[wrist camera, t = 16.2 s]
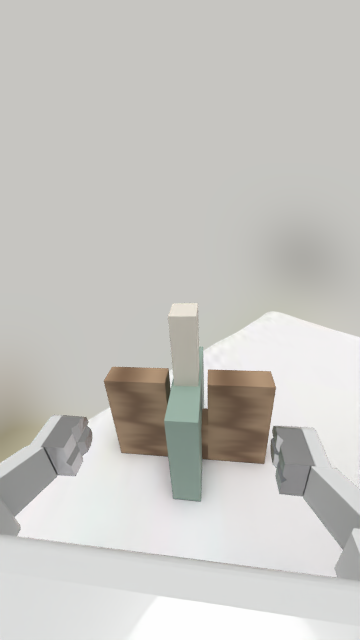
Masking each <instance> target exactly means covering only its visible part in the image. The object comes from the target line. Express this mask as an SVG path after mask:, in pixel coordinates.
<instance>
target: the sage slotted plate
mask: <svg viewBox="0 0 360 640" xmlns="http://www.w3.org/2000/svg"><path fill="white" fill-rule="evenodd" d="M168 321H169V333H170V345H171V356H172V368H173V382H172V386H171V391H170V396H169V400H168V405H167V410H166V414H165V419H164V424H165V433H166V441H167V449H168V458H169V466H170V475H171V483H172V491H173V499H182V500H192V501H201V484H202V437H201V426H202V409H204V372H203V347H199V333H198V332H199V329H198V303H173V304H172V307H171V310H170V313H169V315H168Z"/></svg>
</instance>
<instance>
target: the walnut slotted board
mask: <svg viewBox="0 0 360 640" xmlns="http://www.w3.org/2000/svg"><path fill="white" fill-rule="evenodd" d="M104 383H105V388H106V391H107V396H108V400H109V404H110V408H111V412H112V416H113V420H114V424H115V428H116V432H117V436H118V440H119V444H120V448H121V452H122V453H131V454H144V455H157V456H168V449H167V441H166V433H165V424H164V419H165V414H166V410H167V405H168V400H169V396H170V391H171V390H170V379H169V369H168V368H134V367H132V368H131V367H112V368H111V370H110V371H109V373H108V375H107V377H106V378H105V380H104ZM275 390H276V386H275V383H274V380H273V377H272V374H271V371H237V370H208V409H202V426H201V437H202V459H209V460H222V461H235V462H248V463H261V464H264V462H265V455H266V449H267V442H268V436H269V429H270V422H271V416H272V409H273V403H274V396H275Z"/></svg>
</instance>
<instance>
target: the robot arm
mask: <svg viewBox="0 0 360 640" xmlns="http://www.w3.org/2000/svg"><path fill="white" fill-rule="evenodd" d="M87 424H88V420H87V418H86V417H79V416H67V415H53V416H51V417H50V418H49V420H48V421H47V422H46V424H45V425H44V427H43V428H42V429H41V431H40V432H39V433H38V435H37V436H36V437H35V439H34V440H33V442H32V443H31V444H30V446H25V447H24V448H22V449H21V450H19V451H18V452H16V453H15V454H14V455H12V456H10V457H9V458H7V459H6V460H4V461H3V462H1V463H0V640H360V489H359V488H358V487H357V486H356V485H354V484H353V483H352V482H351V481H350V480H349V479H348V478H347V477H346V476H344V475H343V474H342V473H341V472H340V471H339V470H338V469H337V468H332V466H331V464H330V462H329V460H328V457H327V455H326V453H325V450H324V448H323V446H322V444H321V441H320V439H319V437H318V434H317V432H316V430H315V429H314V428H309V427H292V426H274V427H273V430H272V433H273V437H274V438H273V439H271V457H272V462H273V465H274V466H275V467H276V468H277V469H276V481H277V485H278V489H279V494H285V495H294V496H303V498H304V500H305V501H306V502H307V503H308V505H309V506H310V507H311V509H312V510H313V511H314V513H315V514H316V515H317V517H318V518H319V519H320V520H321V522H322V523H323V524H324V526H325V527H326V528H327V530H328V531H329V532H330V533H331V535H332V536H333V537H334V539H335V540H336V541H337V543H338V544H339V545H340V546H341V548H342V549H343V551H342V554H341V556H340V558H339V560H338V562H337V564H336V566H335V571H336V574H337V578H336V577H329V576H321V575H313V574H305V573H298V572H290V571H282V570H274V569H267V568H259V567H251V566H244V565H236V564H228V563H220V562H213V561H205V560H197V559H189V558H182V557H174V556H166V555H159V554H151V553H143V552H135V551H128V550H120V549H112V548H104V547H97V546H89V545H81V544H73V543H66V542H58V541H50V540H42V539H34V538H27V537H19V536H17V535H18V533H19V531H20V524H19V523H18V522H17V520H16V519H15V516H16V515H17V514H18V513H19V512H20V511H21V510H22V509H23V508H24V507H25V506H27V505H28V504H29V503H30V502H31V501H32V500H33V499H34V498H35V497H36V496H37V495H38V494H39V493H40V492H41V491H42V490H43V489H44V488H45V487H47V486H48V485H49V484H50V483H51V482H52V481H53V480H54V479H55V478H56V477H57V475H64V476H76V475H77V472H78V470H79V468H80V466H81V464H82V462H83V457H82V456H83V455H84V454H85V453H87V452H88V450H89V448H90V446H91V442H92V431H91V429H90V428H89V427H88V426H87Z"/></svg>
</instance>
